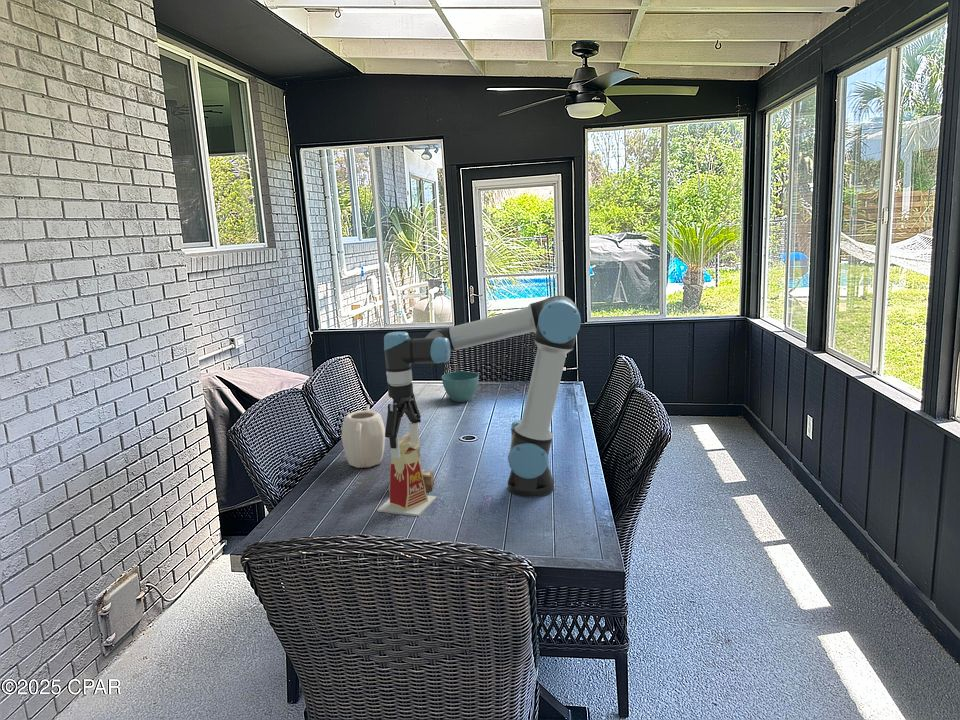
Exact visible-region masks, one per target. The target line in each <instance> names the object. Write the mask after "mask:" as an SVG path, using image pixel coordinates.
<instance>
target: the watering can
mask: <svg viewBox="0 0 960 720" xmlns="http://www.w3.org/2000/svg"><path fill="white" fill-rule="evenodd" d="M365 406H366V407H365V410H358V411H352V412H350V413H348V414H347V415H346V416H345V417H344V419H343V422H342V426H341V435H340V436H341V441H342V446H343V451H344V455H345V457H346V461H347V462H348V465H350V466H352V467H355V468H358V469H359V468H360V469H361V468H371V467H374V466H377V465H380V464H381V462H382V459H383V457H384V451H385V444H386V437H385V430H386V426H385V424H384V420H383V418H382V415H381V414H380V413H378V412H377V411H375V410H370V407H371V404H366V405H365Z"/></svg>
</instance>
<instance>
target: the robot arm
mask: <svg viewBox="0 0 960 720" xmlns="http://www.w3.org/2000/svg"><path fill="white" fill-rule="evenodd" d="M581 318H582V317H581V313H580V311H579V309H578V306H577V304H576V303H575V302H574V301H573V300H572V299H571V298H570V297H567V296H565V295H553V296H550V297H548V298H545V299H541V300H539V301H535V302H531V303H529V304H528V306H527V307H526V308H521V309H517V310H514V311H513V310H512V311H509V312H506V313H501V314H498V315H493V316H489V317H487V318H483V319H479V320H478V319H477V320H474V321H473V320H472V321H469V322H465V323H461V324H458V325H453V326H450V327H446V328H437V329H433V330H431V331H430V332H429V333H428V334H427V335H426V336H425V337H422V338H420V337H419V338H411V337H410V336H409V333H408V332H407V331H393V332H388V333H386V334H385V335H384V337H383V344H384V345H383V350H384V359H385V368H386V372H385V375H386V380H387V382H386V383H387V384H388V385H387V394H388V397H389V398H390V399H392V403H388V404H387V417H386V424H385V438H387V439H389V447H390V450H391V451H390V459H391V458H400V447H399V439H400V437H399V436H398V434H399V433H398V432H399V429H400V426H401V425H400V424H401V420H402V418H403V417H404V416H405V415H406V417H407V419H408V421H409V422H408V428H409V432H410V443H420V433H419V434H418V429H419V425H418V424H420V423H421V421H422V420H421V417H422V416H421V413H420V411H419V407H418V404H417V401H416V397H415V393H414V386H413V371H412V364H413V365H415V364H441V363H448V362H449V361H450V359H451V352H455V351H457V350H462V349H467V348H470V347H474V346H480V345H483V344H487V343H491V342H495V341H500V340H504V339H508V338H512V337H516V336H520V335H525V334H528V333H529V334H530V333H534V337H533V342H534V343H535V345H536V346H537V349H536V353H535V359H534V364H533V368H532V372H531V377H530V381H529V385H528V386H529V387H528V390H527V396H526V398H525V404H524V408H523V413H522V417H521V419H518V420H514V421H513V422H511V425H510V426H511V428H510V431H511V433H510V434H511V442H510V447H509V452H508V456H507V460H508V461H507V462H508V466H509V468H510V473H509V476H508V479H507V490H508V493H511V494H512V495H514V496H518V497H522V498H537V497H544V496H547V495H549V494H551V493H553V491H554V489H555V482H554V479H553V475H552V473H551V470H550V467H549V455H550V454H549V453H550V450H551V446H552V442H553V438H554V436H553V433H552V432H551V431H550V427H551V423H552V419H553V416H554V415H553V413H554V410H555V405H556V401H557V398H558V397H557V396H558V394H559V393H558V392H559V388H560V384H561V379H562V374H563V371H564V367H565V363H566V359H567V354H569V353H570V352H572V351H573V350H574V346H575V343H576V340H577V339H576V338H577V334H578V333H579V331H580V329H581V325H582V319H581Z"/></svg>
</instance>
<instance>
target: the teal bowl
mask: <svg viewBox="0 0 960 720" xmlns="http://www.w3.org/2000/svg"><path fill="white" fill-rule="evenodd" d="M479 377H480V375H479V374H478V373H477V372H475V371H474V372H473V371H452V372H449V373H448V372H447V373H445V374H443V375H441V381H442V385H443V388H444V391H445V392H446V394H447V395H448V397H449V398H450V399H451V400H452V401H454V402H457V403H464V402H467V401H470V400H471V399H472V398H473V395H475V393H476V391H477V388H478V385H479V380H480V379H479Z"/></svg>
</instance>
